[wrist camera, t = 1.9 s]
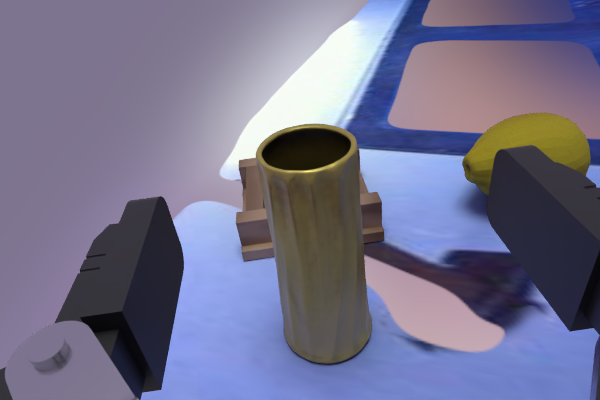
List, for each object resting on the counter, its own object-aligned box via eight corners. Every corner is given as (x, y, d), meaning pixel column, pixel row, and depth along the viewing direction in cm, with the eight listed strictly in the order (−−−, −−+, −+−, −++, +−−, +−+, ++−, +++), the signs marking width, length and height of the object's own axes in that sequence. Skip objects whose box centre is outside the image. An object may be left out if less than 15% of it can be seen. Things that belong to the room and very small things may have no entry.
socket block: (356, 168, 47) (354, 139, 45) (383, 240, 37) (383, 207, 35) (245, 185, 47) (239, 156, 45) (244, 261, 37) (235, 229, 35)
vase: (274, 358, 29) (229, 176, 21) (295, 290, 34) (266, 119, 26) (366, 371, 27) (358, 179, 19) (375, 297, 32) (372, 119, 24)
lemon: (557, 170, 43) (578, 92, 38) (603, 219, 36) (634, 132, 32) (444, 181, 43) (451, 105, 39) (469, 231, 37) (481, 147, 32)
